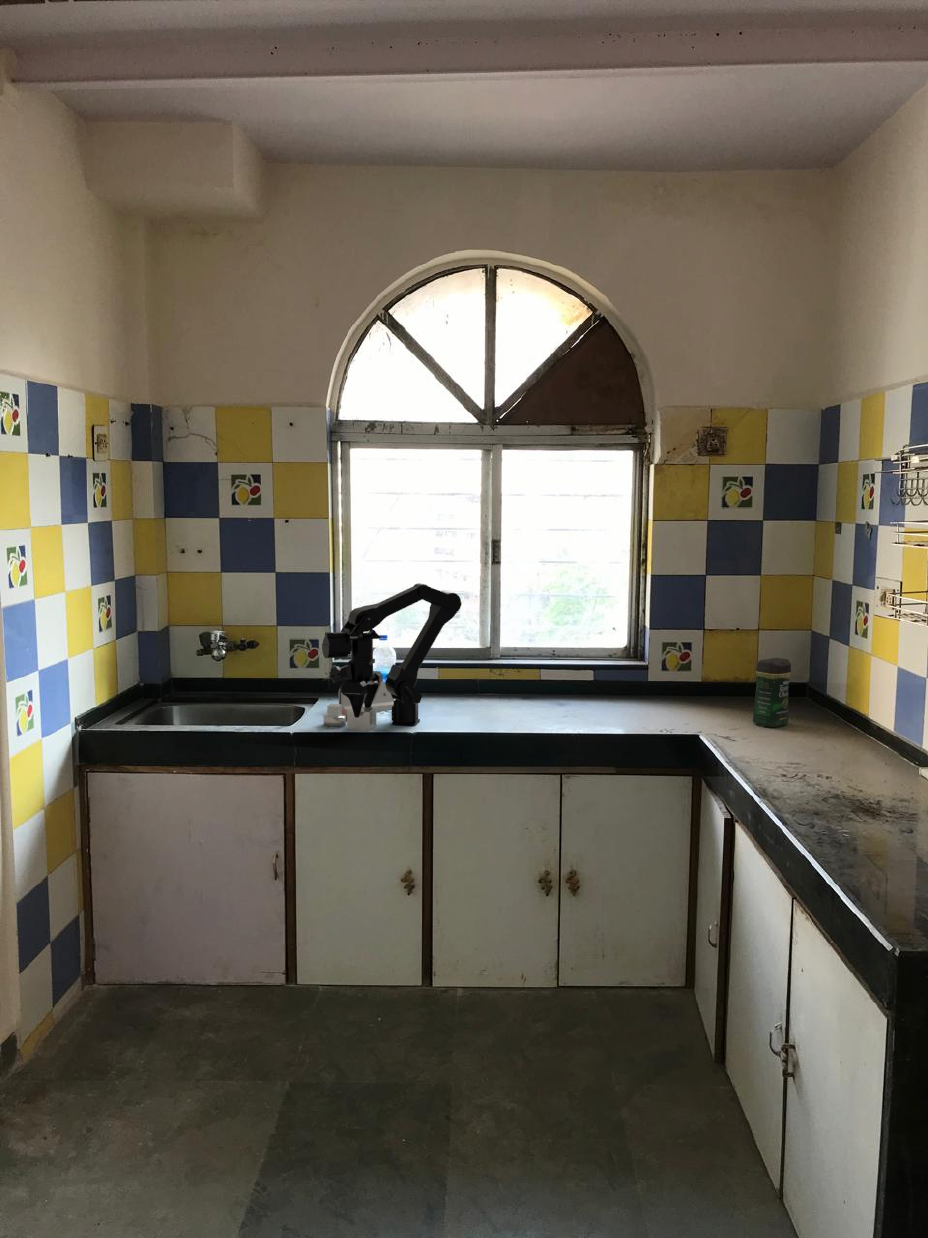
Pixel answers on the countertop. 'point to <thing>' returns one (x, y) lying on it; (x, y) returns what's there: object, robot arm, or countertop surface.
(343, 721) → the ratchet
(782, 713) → the coffee jar
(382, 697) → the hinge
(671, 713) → the countertop surface
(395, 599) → the robot arm
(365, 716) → the grey cube
